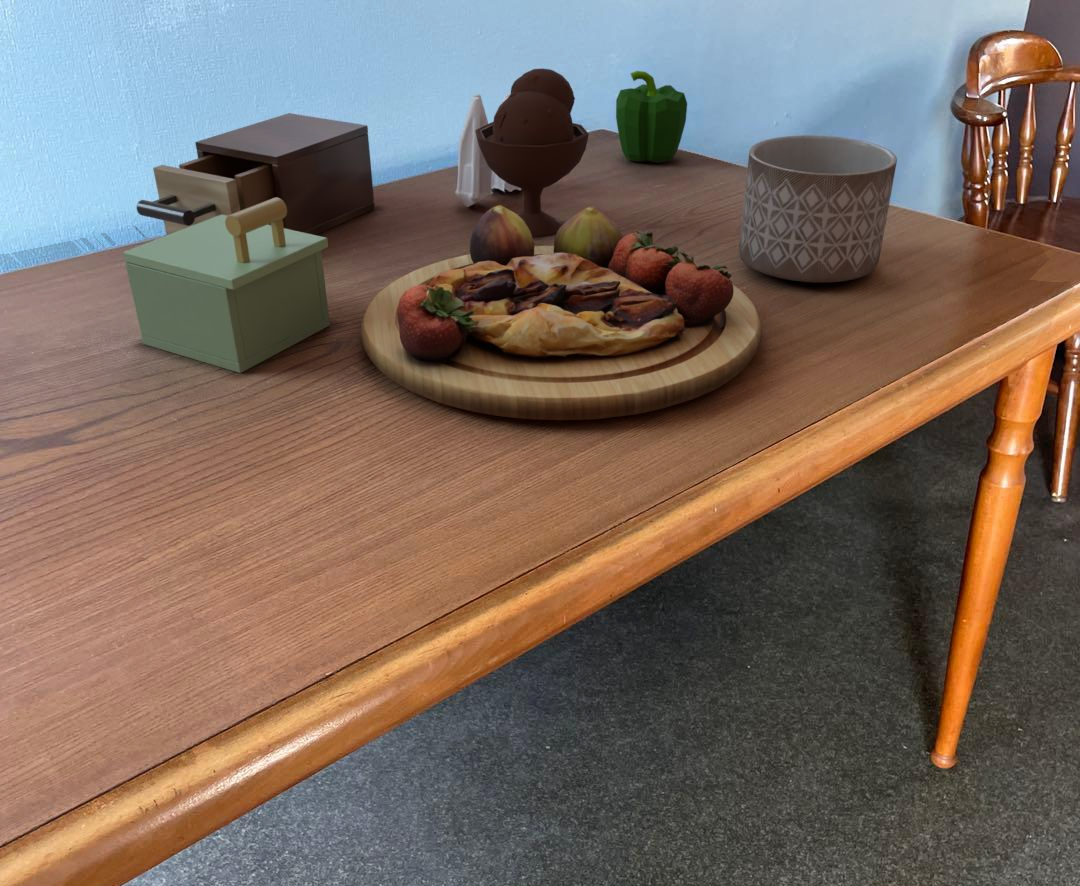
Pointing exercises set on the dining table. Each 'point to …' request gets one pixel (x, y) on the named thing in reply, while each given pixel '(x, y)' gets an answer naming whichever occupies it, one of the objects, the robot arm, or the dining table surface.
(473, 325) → the wooden plate
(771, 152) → the planter
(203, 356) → the chest
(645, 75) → the bell pepper
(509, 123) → the ice cream bowl
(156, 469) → the dining table surface
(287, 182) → the cabinet
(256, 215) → the chest lid
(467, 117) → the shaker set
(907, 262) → the dining table surface
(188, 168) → the drawer
